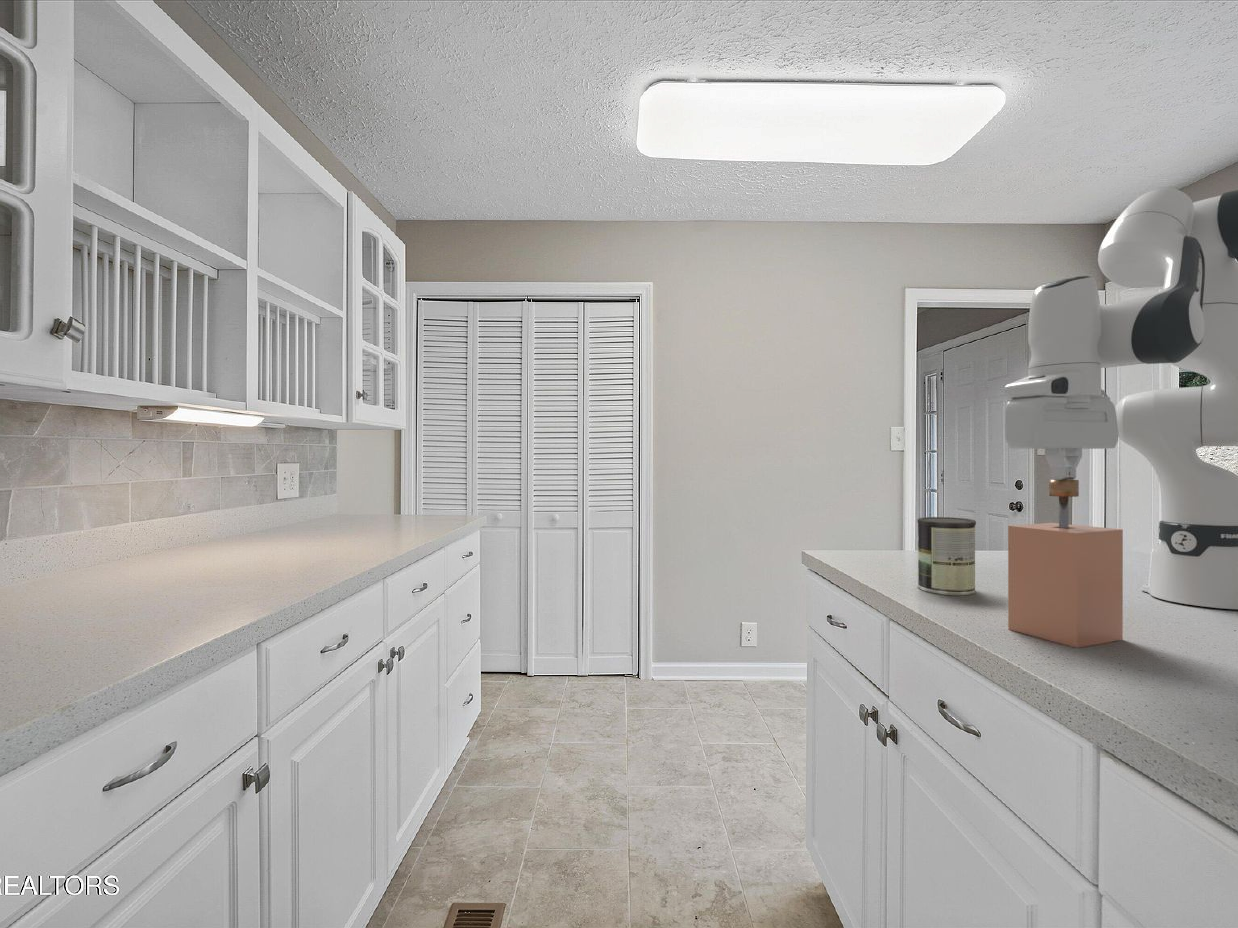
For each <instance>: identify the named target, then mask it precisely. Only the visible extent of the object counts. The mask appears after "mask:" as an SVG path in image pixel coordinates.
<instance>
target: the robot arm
mask: <svg viewBox="0 0 1238 928" xmlns="http://www.w3.org/2000/svg"><path fill="white" fill-rule="evenodd" d="M1097 254H1098V255H1097V262H1098V263H1097V264H1098V266H1099V269H1100V271H1101V273H1102V274H1103V275H1104V277H1106V278H1107V279H1108V280H1109V281H1111V282H1113V283H1114V284H1116V285H1118V286H1121V287H1125V288H1130V289H1143V288H1144V289H1145V288H1153V287H1154V288H1157V287H1163V288H1162V290H1161V291H1159V292H1156V293H1155V294H1151V295H1147V296H1143V297H1139V298H1133V299H1128V300H1123V301H1118V302H1113V303H1107V304H1101V303H1100V295H1099V290H1098V289H1099V288H1098V285H1097V281H1096V278H1095V277H1093V276H1089V275H1081V276H1073V277H1069V278H1063V279H1059V280H1054V281H1049V282H1047V283H1043V284H1041V285H1039V286H1038V287H1037V288H1036V289H1034V292H1033V293H1032V297H1031V300H1030V306H1029V315H1028V329H1027V331H1028V332H1027V335H1028V336H1027V342H1028V345H1029V347H1030V349H1029V350H1030V353H1031V355H1030V360H1029V363H1028V367H1027V376H1024V377H1022V378H1021V379H1018V380H1016V381H1014V382H1011V383H1008V384H1006V385H1005V386H1004V394H1003V395H1004V398H1005V399H1006V400H1009V401H1007V403H1006V405H1005V409H1004V439H1005V442H1006V443H1007V445H1008V447H1009V448H1010V449H1015V450H1016V449H1024V450H1025V449H1030V450H1031V449H1035V450H1037V449H1042V450H1043V449H1044V457H1045V459H1046V462H1047V463H1048V466H1049V468H1050V478H1051V480H1052V479H1053V480H1076V478H1077V468H1078V466H1079V464H1080V462H1081V459H1082V457H1083V449H1084V450H1085V449H1087V450H1088V449H1095V450H1096V449H1097V450H1098V449H1101V450H1104V449H1114V448H1116V447H1117V444H1118V441H1119V440H1121V441H1122V442H1123V443H1124V444H1126V445H1128V446H1130V447H1132V448H1133V449H1134V450H1137V451H1138V453H1140V454H1141V455H1142V456H1143V457H1144V458H1146V459H1147V461H1148V462H1149V463H1150V464H1151V466H1152V467H1153V470H1154V471H1155V474H1156V476H1157V478H1158V481H1159V488H1160V494H1161V495H1160V496H1161V518H1162V519H1161V520H1160V521H1159V525H1158V527H1157V532H1158V539H1159V540H1160V543H1159V544H1158V546H1156V547H1154V548H1153V549H1152V550H1151V554H1150V564H1149V575H1148V584H1141V588H1140V590H1141V591H1143V592H1145V593H1147V594H1149V595H1150V596H1152V597H1154V598H1157V599H1160V600H1164V601H1167V602H1173V603H1177V604H1184V605H1191V606H1198V607H1205V608H1212V609H1213V608H1215V609H1227V610H1238V474H1236V473H1234V472H1233V471H1230V470H1228V469H1225V468H1223V467H1220V466H1217V465H1215V464H1212V463H1209V462H1206V461H1205V460H1203V459H1201V458H1200V457H1199V456H1198V454H1197V450H1198V449H1199V448H1203V447H1238V189H1236V190H1230V191H1225V192H1224V193H1222V194H1221V195H1217V196H1214V197H1208V198H1205V199H1201V200H1197V201H1193V200H1192V198H1191V197H1190V196H1189V195H1188V194H1186V193H1185V192H1184V191H1181V190H1178V189H1175V188H1168V187H1167V188H1165V187H1164V188H1157V189H1154V190H1150V191H1148V192H1146V193H1145V192H1144V193H1143V194H1141V195H1140V196H1138V197H1137V198H1136V199H1135V200H1133V202H1131V203H1130V204H1129V205H1128V206H1127V207H1126V208H1125V209H1124V210H1123V212H1121V213H1120V215H1119V216H1118V217H1117V218H1116V220H1115V221H1114V223H1113V224H1112V225H1111V227H1110V229H1109V230H1108V231H1107V233H1106V235H1105V237H1104V238H1103V239H1102V242H1101V243H1100V247H1099V250H1098V253H1097ZM1144 364H1145V365H1152V364H1153V365H1154V364H1171V365H1173V366H1175V367H1177V368H1179V369H1181V370H1185V371H1188V372H1194V373H1196V374H1199V375H1201V376H1204V377H1205V378H1207V379H1208V380H1209V383H1208V384H1206V385H1203V386H1202V385H1201V386H1189V387H1188V386H1186V387H1169V388H1158V389H1151V390H1145V391H1141V392H1137V393H1132V394H1128V395H1125V396H1124V397H1123V398H1121V399H1120V400H1119V402H1117V404H1116V405H1115V404H1114V402H1113V401H1111V397H1110V396H1108V394H1107V393H1106V391H1105V390H1104V389H1102V369H1105V368H1107V369H1108V368H1116V367H1117V368H1118V367H1126V366H1134V365H1144Z"/></svg>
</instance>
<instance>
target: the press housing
mask: <svg viewBox="0 0 1238 928" xmlns="http://www.w3.org/2000/svg"><path fill="white" fill-rule="evenodd" d="M1007 530H1008V531H1007V532H1008V533H1007V537H1008V539H1007V541H1008V543H1007V547H1008V549H1007V550H1008V551H1007V554H1008V555H1007V560H1008V561H1007V562H1008V563H1007V566H1008V569H1007V571H1008V574H1007V575H1008V576H1007V581H1008V583H1007V585H1008V587H1007V591H1008V593H1007V595H1008V596H1007V597H1008V599H1007V600H1008V601H1007V603H1008V605H1007V607H1008V608H1007V609H1008V620H1007V621H1008V622H1007V625H1008V630H1010V631H1014V632H1017V633H1021V634H1024V635H1028V636H1032V637H1036V638H1040V639H1042V640H1045V641H1046V640H1047V641H1050V642H1053V643H1058V644H1062V645H1065V646H1069V647H1072V648H1076V649H1079V648H1083V647H1089V646H1093V645H1095V646H1096V645H1099V644H1107V643H1110V642H1116V641H1121V640H1122V641H1123V630H1124V629H1123V628H1124V627H1123V624H1124V622H1123V620H1124V619H1123V618H1124V617H1123V616H1124V615H1123V614H1124V613H1123V611H1124V609H1123V603H1124V602H1123V599H1124V597H1123V594H1124V593H1123V591H1124V590H1123V585H1124V583H1123V581H1124V580H1123V574H1124V573H1123V571H1124V569H1123V568H1124V567H1123V565H1124V564H1123V563H1124V562H1123V561H1124V560H1123V558H1124V557H1123V554H1124V553H1123V552H1124V551H1123V549H1124V548H1123V547H1124V545H1123V543H1124V542H1123V541H1124V536H1123V534H1124V532H1123V531H1124V530H1123V528H1122V529H1121V528H1120V529H1119V528H1112V527H1110V528H1109V527H1098V526H1089V525H1079V524H1070V523H1069V529H1063V528H1059V522H1045V523H1044V522H1043V523H1029V524H1028V523H1027V524H1017V525H1015V524H1014V525H1008V526H1007Z"/></svg>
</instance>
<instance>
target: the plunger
mask: <svg viewBox="0 0 1238 928" xmlns="http://www.w3.org/2000/svg"><path fill="white" fill-rule="evenodd" d="M1079 484H1080V480H1079V479H1073V480H1053V479H1052V478H1051V479H1048V496H1050V497H1058V523H1059V528H1063V529H1069V524H1070V523H1069V519H1070V517H1069V514H1070V513H1069V509H1070V507H1069V506H1070V502H1069V498H1072V497H1073V498H1075V497H1076V498H1077V497H1078V498H1079V497H1080V496H1079V494H1080V487H1079V486H1080V485H1079Z"/></svg>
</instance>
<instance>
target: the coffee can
mask: <svg viewBox="0 0 1238 928" xmlns="http://www.w3.org/2000/svg"><path fill="white" fill-rule="evenodd" d="M916 521H917V528H918V530H917V534H918V535H917V539H918V540H917V541H918V542H917V549H918V551H917V553H918V555H917V556H918V557H917V561H918V564H917V567H918V570H917V571H918V575H917V576H918V577H917V579H918V581H917V582H918V584H917V588H918V589H919V590H921V591H923V592H926V593H930V594H935V595H936V594H937V595H945V596H946V595H947V596H969V595H973V594H975V593H976V524H977V522H976V520H974V519H972V518H964V517H962V518H961V517H949V516H948V517H947V516H946V517H944V516H928V517H927V516H925V517H919V518H917V520H916Z"/></svg>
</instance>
